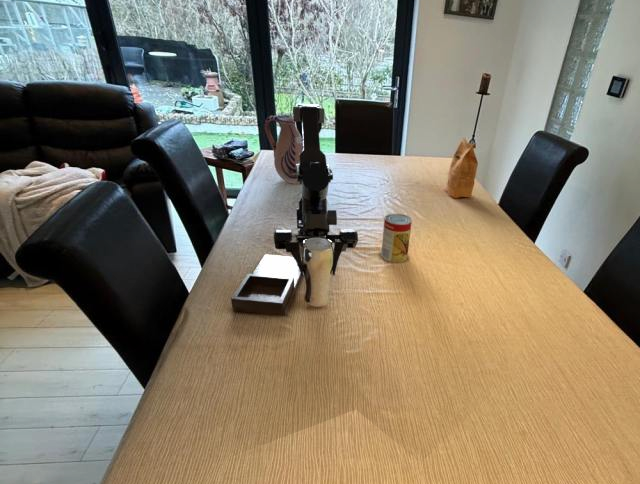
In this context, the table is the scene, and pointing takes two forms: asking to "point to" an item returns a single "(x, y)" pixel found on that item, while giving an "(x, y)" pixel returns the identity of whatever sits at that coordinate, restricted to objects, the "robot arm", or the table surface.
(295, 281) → the dark rectangular tray
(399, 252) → the canned food
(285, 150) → the ceramic pitcher
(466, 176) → the coffee package
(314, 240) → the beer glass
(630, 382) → the table surface
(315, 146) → the robot arm
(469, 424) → the table surface
